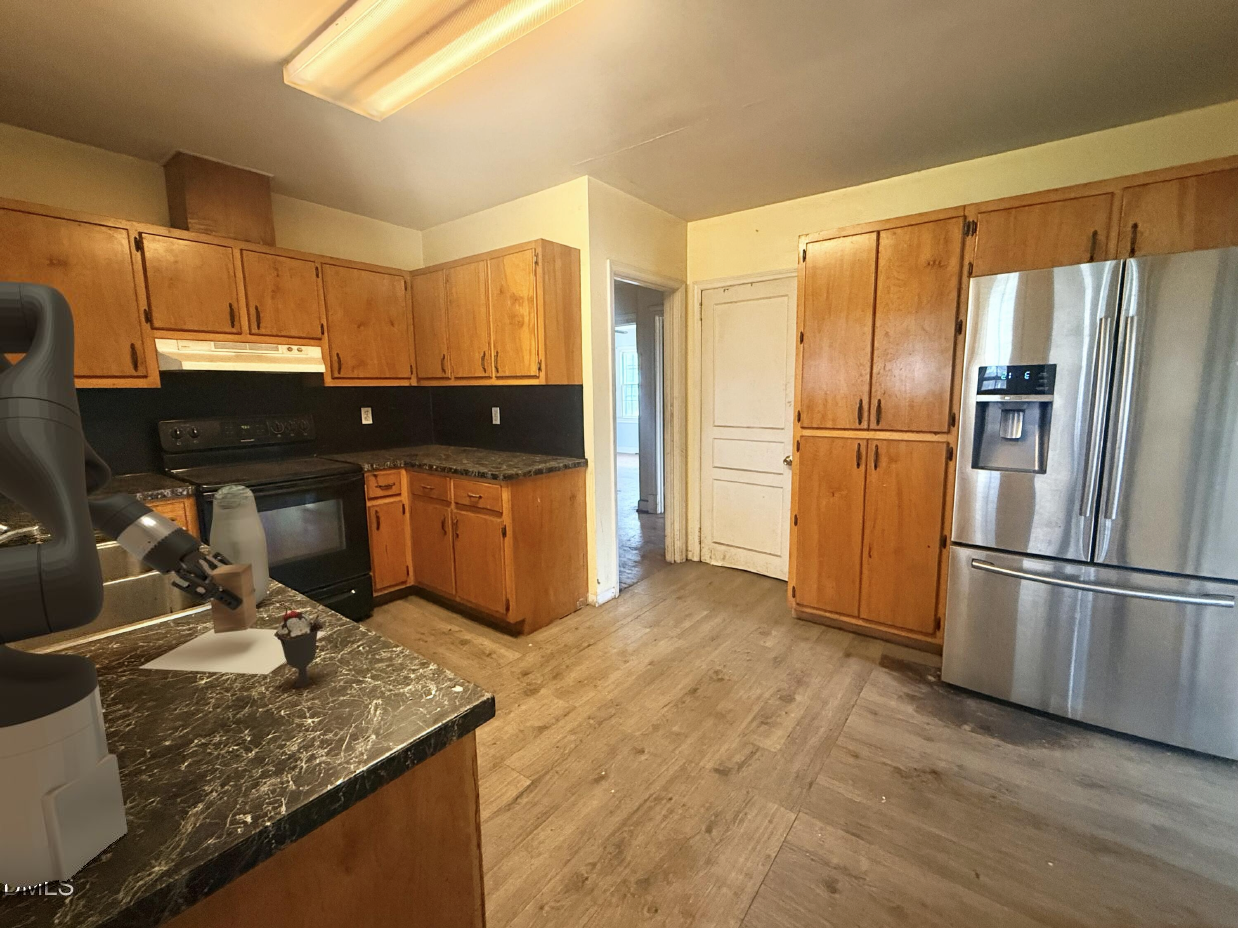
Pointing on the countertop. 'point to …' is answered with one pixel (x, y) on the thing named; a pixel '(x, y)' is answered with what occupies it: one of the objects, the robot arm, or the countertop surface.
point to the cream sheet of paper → (226, 653)
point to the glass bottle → (240, 534)
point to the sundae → (299, 642)
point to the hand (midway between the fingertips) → (245, 600)
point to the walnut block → (243, 587)
